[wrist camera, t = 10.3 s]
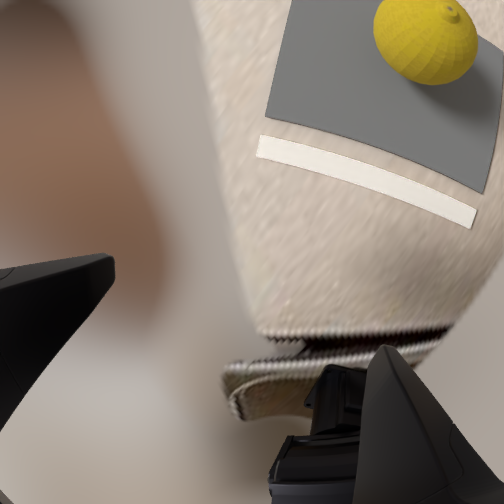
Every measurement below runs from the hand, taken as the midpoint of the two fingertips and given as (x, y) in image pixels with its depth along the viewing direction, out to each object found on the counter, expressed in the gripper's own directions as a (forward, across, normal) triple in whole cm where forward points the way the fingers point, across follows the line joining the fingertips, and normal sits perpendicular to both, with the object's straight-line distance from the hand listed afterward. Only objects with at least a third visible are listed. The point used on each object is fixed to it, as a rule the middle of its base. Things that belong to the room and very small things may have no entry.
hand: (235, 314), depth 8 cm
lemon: (+12, -5, -13) cm, 18 cm away
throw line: (+12, -5, -4) cm, 14 cm away
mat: (+12, -5, -12) cm, 18 cm away
